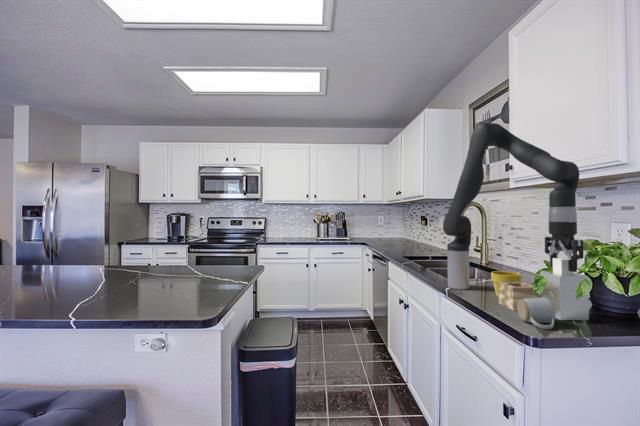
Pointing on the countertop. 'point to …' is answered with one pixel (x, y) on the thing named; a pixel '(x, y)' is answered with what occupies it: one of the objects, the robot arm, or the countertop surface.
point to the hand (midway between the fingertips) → (563, 269)
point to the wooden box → (515, 293)
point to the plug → (561, 266)
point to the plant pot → (503, 278)
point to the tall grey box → (565, 296)
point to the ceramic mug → (537, 311)
